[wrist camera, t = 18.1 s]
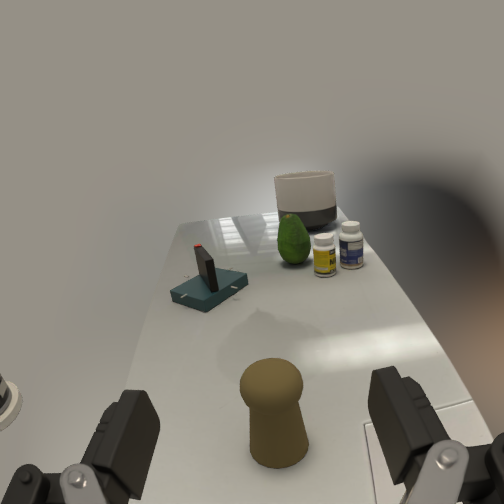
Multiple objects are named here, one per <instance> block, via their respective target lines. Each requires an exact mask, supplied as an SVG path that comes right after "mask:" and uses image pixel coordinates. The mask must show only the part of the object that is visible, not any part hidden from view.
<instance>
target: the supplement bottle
mask: <svg viewBox="0 0 504 504" xmlns="http://www.w3.org/2000/svg"><path fill="white" fill-rule="evenodd" d="M333 241H334V240H333V235H332V234H329V233H321V234H317V235H315V236H314V242H315V245H314V246H313V254H314V272H315V275H317V276H319V277H330V276H333V275H334V274H335V273H336V254H335V245H334V243H333Z"/></svg>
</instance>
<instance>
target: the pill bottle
mask: <svg viewBox="0 0 504 504" xmlns="http://www.w3.org/2000/svg"><path fill="white" fill-rule="evenodd" d="M342 230H343V232H341V233H340V235H339V245H340V265H341V266H342V267H344V268H347V269H356V268H359V267H361V266H362V265H363V234H362V233H361V232H360V231H359V230H360V223H358V222H356V221H347V222H343V223H342Z"/></svg>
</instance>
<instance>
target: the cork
mask: <svg viewBox="0 0 504 504" xmlns="http://www.w3.org/2000/svg"><path fill="white" fill-rule="evenodd" d="M302 390H303V380H302V376H301V374H300V371H299V370H298V369H297V368H296V367H295V366H294V365H293V364H292V363H290V362H289V361H287V360H283V359H280V358H268V359H262V360H259V361H256V362H255V363H253V364H251V365H250V366H249V367H248V368H247V369H246V370H245V371H244V373H243V375H242V377H241V379H240V393H241V396H242V398H243V400H244V402H245V403H246V405H247V406H248V407H249V408H250V453H251V455H252V457H253V458H254V459H255V460H256V461H257V462H258V463H259V464H261V465H263V466H266V467H269V468H285V467H289V466H291V465H294V464H296V463H297V462H299V461H300V460H301V459H302V458H303V457H304V456H305V454H306V453H307V451H308V446H309V443H308V438H307V434H306V430H305V426H304V422H303V418H302V415H301V411H300V407H299V403H298V401H299V399H300V397H301V394H302Z"/></svg>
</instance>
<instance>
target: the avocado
mask: <svg viewBox="0 0 504 504" xmlns="http://www.w3.org/2000/svg"><path fill="white" fill-rule="evenodd" d="M277 241H278V250H279V252H280V255H281V257H282V258H283V259H284V260H285V261H286V262H288V263H294V264H297V263H301V262H303V261H304V260H306V259H307V258H308V256H309V254H310V249H311V243H310V237H309V234H308V232H307V230H306V228H305V226H304V225H303V223H302V221H301V220H300V218H299V217H298V216H297V215H295V214H287V215H284V216H283V217H282V218H281V220H280V223H279V230H278V238H277Z"/></svg>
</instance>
